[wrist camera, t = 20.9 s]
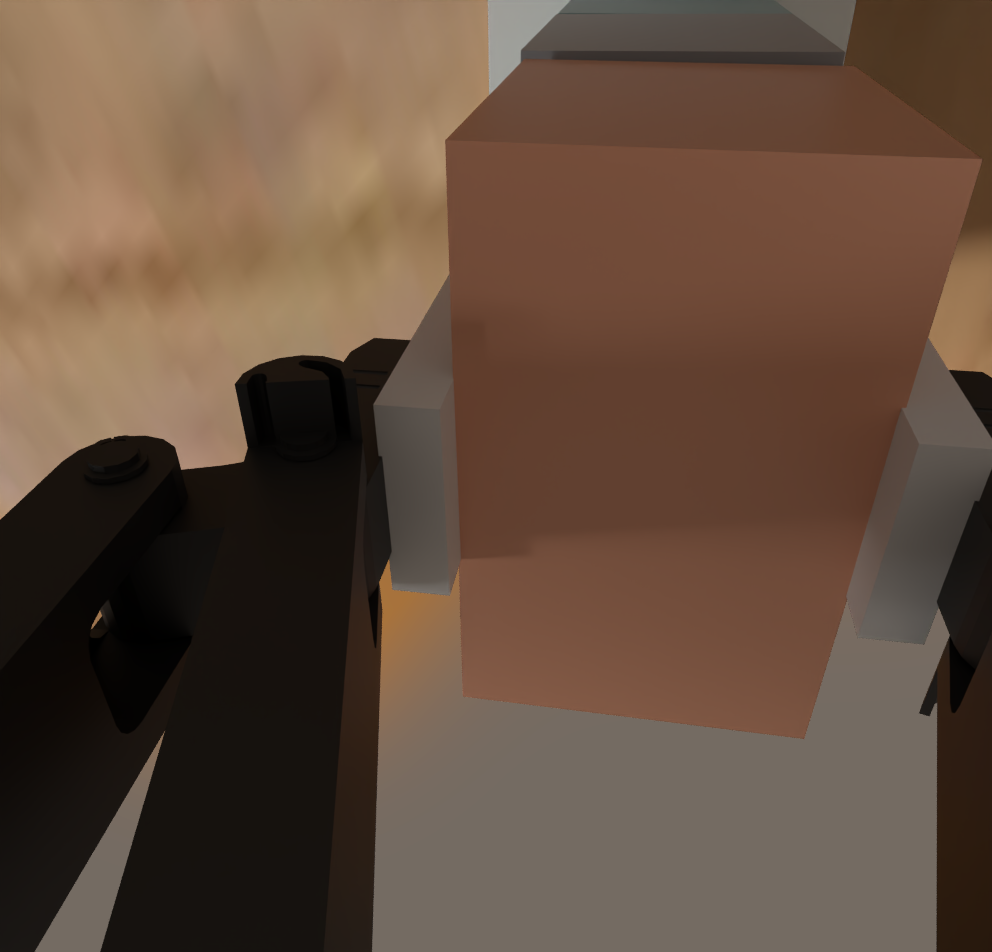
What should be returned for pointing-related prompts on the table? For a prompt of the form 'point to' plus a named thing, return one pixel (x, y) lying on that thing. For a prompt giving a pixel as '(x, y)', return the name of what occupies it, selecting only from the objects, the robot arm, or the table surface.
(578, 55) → the charcoal brick
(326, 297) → the table surface
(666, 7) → the teal base brick
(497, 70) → the baseplate
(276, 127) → the table surface
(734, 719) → the terracotta brick
